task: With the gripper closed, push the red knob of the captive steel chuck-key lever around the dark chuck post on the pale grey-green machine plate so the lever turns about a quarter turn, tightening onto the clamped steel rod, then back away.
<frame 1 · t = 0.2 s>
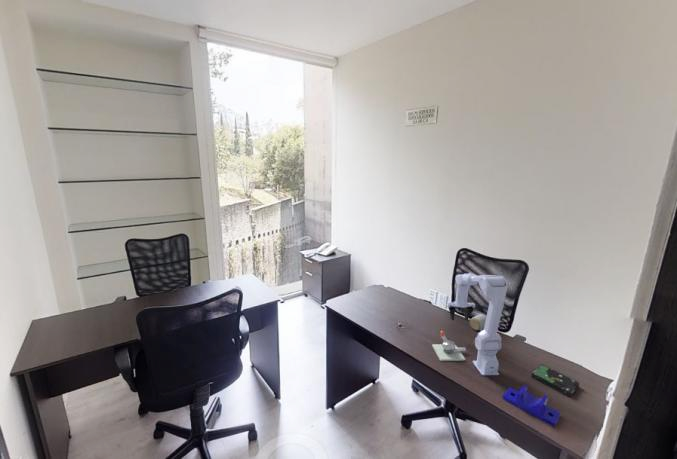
hand: (459, 319, 165), 10 cm above the table, fingers open, 7 cm apart
mounting bracket: (530, 408, 120), on the table
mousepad: (406, 328, 175), on the table
key lever: (446, 340, 155), point 5 cm above the table, hinge at 0.0°
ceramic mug: (480, 329, 174), on the table
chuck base: (447, 352, 153), on the table
disk drive: (554, 383, 134), on the table
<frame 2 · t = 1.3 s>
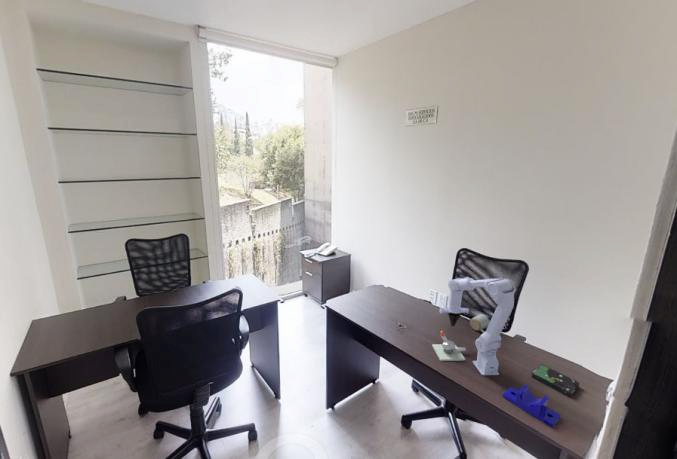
hand: (452, 325, 159), 10 cm above the table, fingers closed
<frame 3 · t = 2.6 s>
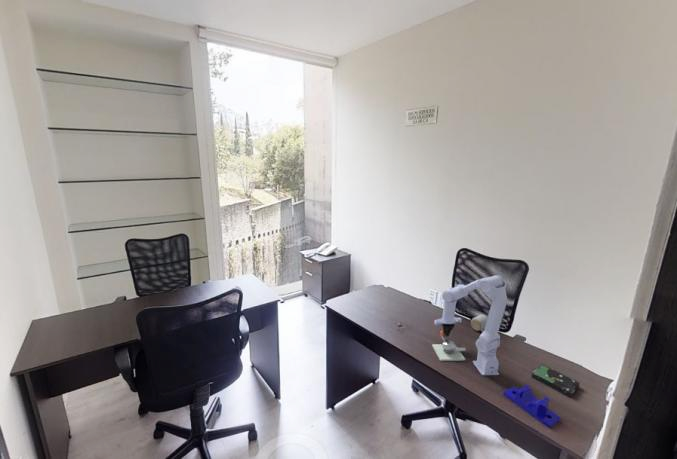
hand: (446, 335, 161), 4 cm above the table, fingers closed
key lever: (446, 340, 155), point 5 cm above the table, hinge at 0.0°, touching gripper
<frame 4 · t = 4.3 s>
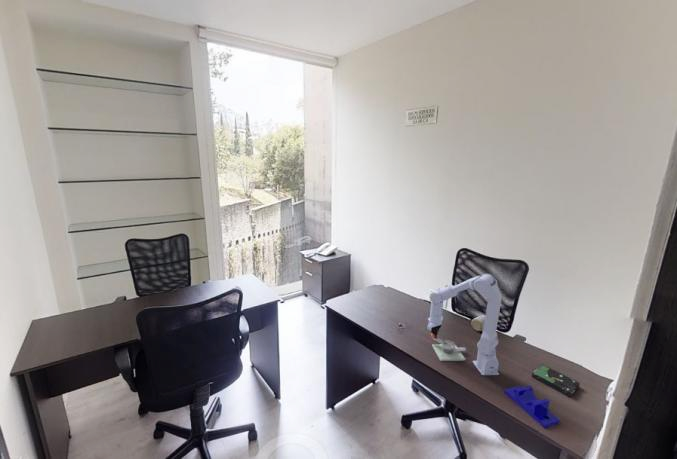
hand: (434, 336, 159), 4 cm above the table, fingers closed, pressing on key lever
key lever: (442, 341, 154), point 5 cm above the table, hinge at 39.7°, touching gripper
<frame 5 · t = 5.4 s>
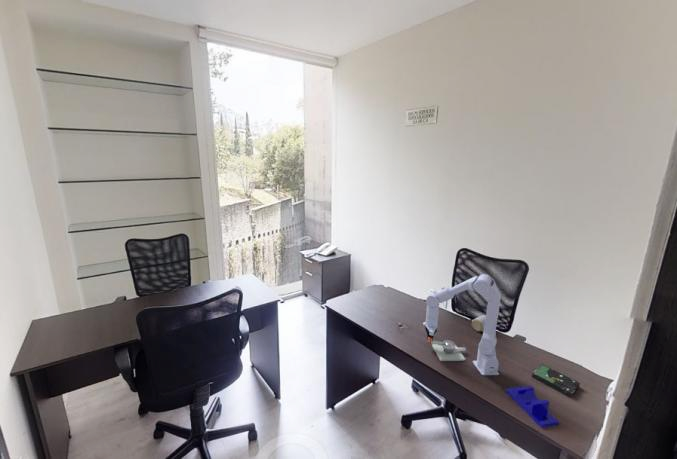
hand: (429, 340, 156), 4 cm above the table, fingers closed, pressing on key lever
key lever: (441, 342, 153), point 5 cm above the table, hinge at 67.2°, touching gripper
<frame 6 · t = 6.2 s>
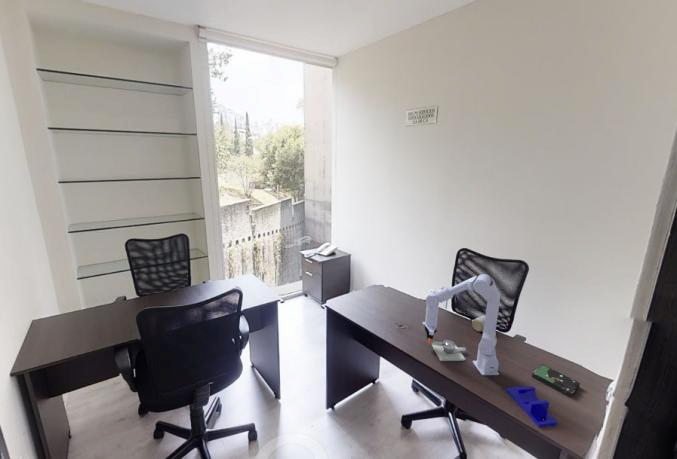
hand: (429, 340, 156), 4 cm above the table, fingers closed
key lever: (441, 343, 152), point 5 cm above the table, hinge at 73.4°
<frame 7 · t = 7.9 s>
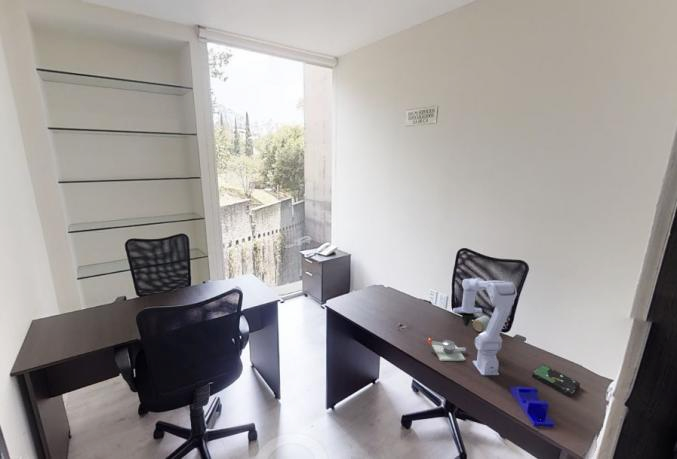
hand: (465, 325, 160), 10 cm above the table, fingers closed
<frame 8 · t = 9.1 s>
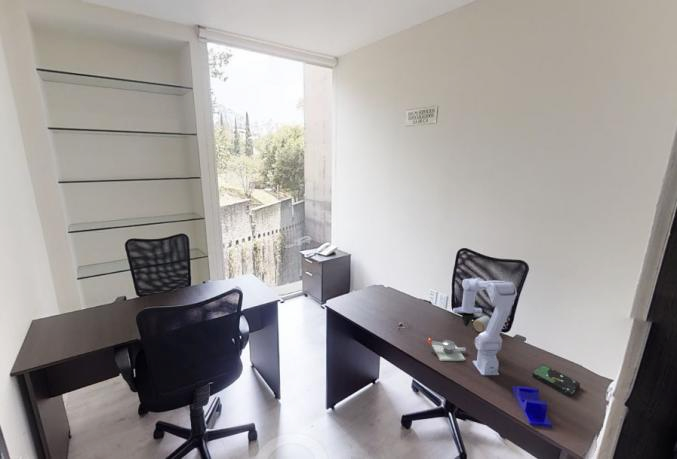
hand: (465, 325, 160), 10 cm above the table, fingers closed
at the end: key lever at +74° (first picture: +0°) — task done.
